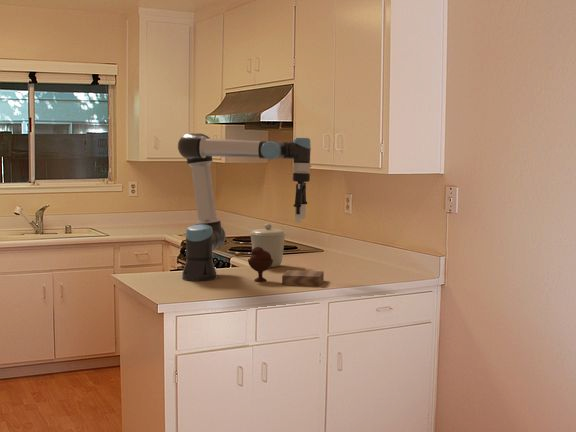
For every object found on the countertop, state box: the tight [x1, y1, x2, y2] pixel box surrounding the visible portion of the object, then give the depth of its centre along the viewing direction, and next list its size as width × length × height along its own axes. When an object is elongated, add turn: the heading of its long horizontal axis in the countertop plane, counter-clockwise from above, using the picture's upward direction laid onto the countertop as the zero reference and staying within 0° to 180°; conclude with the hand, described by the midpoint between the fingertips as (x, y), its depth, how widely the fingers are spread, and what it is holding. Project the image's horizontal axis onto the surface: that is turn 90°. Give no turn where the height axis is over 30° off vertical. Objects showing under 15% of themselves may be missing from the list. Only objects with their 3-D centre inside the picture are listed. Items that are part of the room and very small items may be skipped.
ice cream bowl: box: [247, 247, 273, 283], centre depth 338 cm, size 11×11×15 cm
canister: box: [249, 223, 287, 268], centre depth 378 cm, size 18×18×21 cm
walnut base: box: [281, 269, 325, 287], centre depth 335 cm, size 16×14×4 cm
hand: (300, 220), depth 344 cm, fingers open, 13 cm apart
